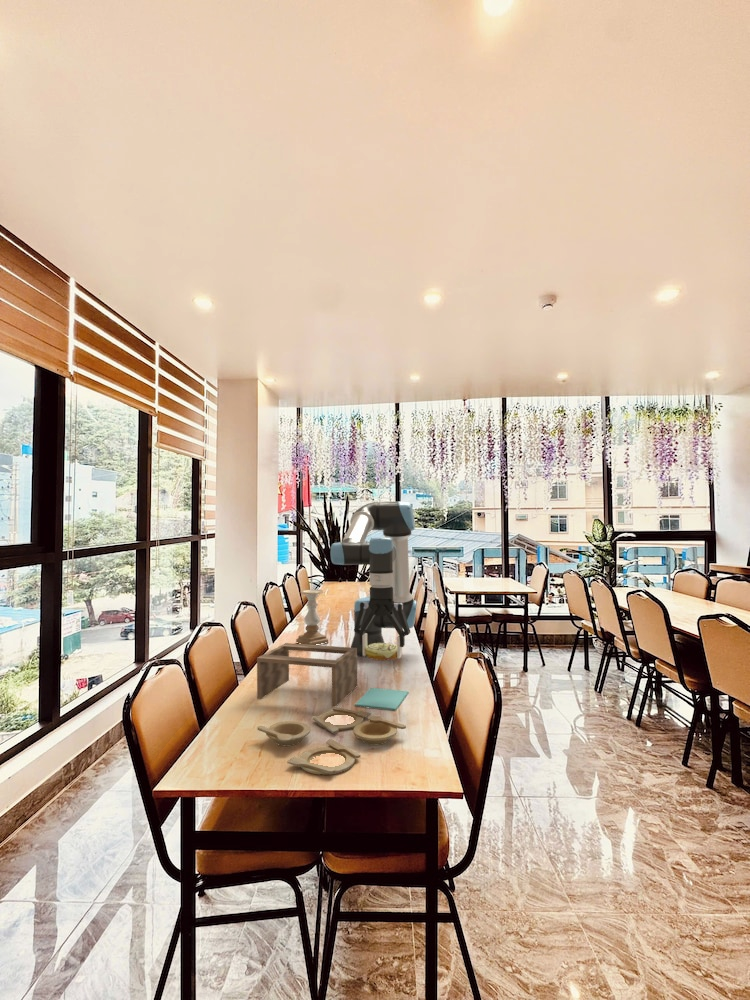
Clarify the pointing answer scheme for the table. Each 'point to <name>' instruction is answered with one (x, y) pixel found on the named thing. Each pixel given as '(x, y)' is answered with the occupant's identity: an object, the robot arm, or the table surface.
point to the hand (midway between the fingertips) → (382, 656)
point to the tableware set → (367, 731)
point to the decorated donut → (381, 651)
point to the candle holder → (312, 621)
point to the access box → (277, 665)
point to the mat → (382, 698)
